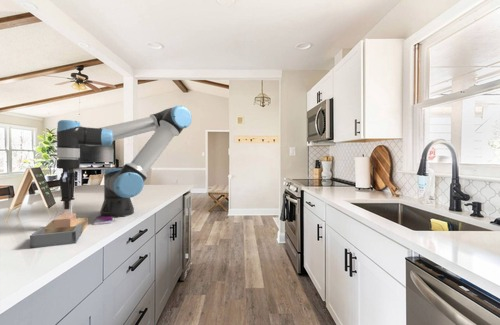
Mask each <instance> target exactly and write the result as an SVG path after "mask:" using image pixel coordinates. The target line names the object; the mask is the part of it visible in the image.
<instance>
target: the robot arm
mask: <svg viewBox="0 0 500 325" xmlns="http://www.w3.org/2000/svg"><path fill="white" fill-rule="evenodd" d="M191 124H192V114H191V112H190V110H189V109H188V108H187V107H186V106H183V105H174V106H172V107H168V108H166V109H163V110H160V111H159V112H156V113H153V114H149V116H148V117H144V118H138V119H134V120H129V121H126V122H125V121H124V122H120V123H116V124H112V125H108V126H103V127H86V126H82V125H81V123H80V121H77V120H71V119H70V120H68V119H60V120H59V121H57V128H56V129H57V130H56V149H55V151H54V152H55V153H56V158H58V159H56V168H57V169H60V170H61V169H62V172H61V173H60V177H59V181H60V190H61V192H60V193H61V199H60V202H63V204H62V214H69V213H73V201H75V199H76V198H75V196H74V194H75V181H76V173H75V171H74V170H76V169H79V168H80V161H81V160H80V158H81V148H80V147H81V146H86V147H97V146H98V147H110V146H112V145H113V142H114V141H119V140H121V139H125V138H129V137H133V136H138V135H141V134H146V133H149V132H154V133H153V134H152V135H151V137H150V138H149V139H148V140H147V142H145V144H144V145H143V146H142V148H141V149H140V150H139V151H138V153H137V154H136V156H135V157H134V158H133V159H132V160H131V161H130V162H129V163H125V164H124V165H123V167H117V168H116V167H115V168H107V169H105V170H104V174H103V182H104V185H103V186H104V188H103V190H104V192H103V196H104V198H103V201H102V205H101V208H100V211H99V215H100V216H104V217H113V218H120V217H126V216H129V215H133V214H134V213H135V207H134V205H133V202H132V199H131V198H134V197H136V196H137V195H139V194H140V193H141V192H142V191H143V188H144V183H145V182H146V180H147V178H148V174H147V173H148V171H149V170H151V167H153V165H154V164H155V163H156V161H157V160H158V158H159V157H160V156H161V154H162V153H163V152H164V150H165V149H166V148H167V147H168V145H169V144H170V142H171V141H172V140H173V138H174V137H178V136H180V134H181V133H182V131H183V130H184V129H186V128H188V127H189V126H190V125H191Z"/></svg>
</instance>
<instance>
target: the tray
mask: <svg viewBox="0 0 500 325" xmlns="http://www.w3.org/2000/svg"><path fill="white" fill-rule="evenodd" d="M82 234H83V233H82V223H80V224H78V225H77V226H76V227H75V229H74V230H73V231H68V232H58V233H47V234H45V226H41V227H39V228H38V229H37V230H36V231H35V232H33V233H31V235H29V249H36V248H37V249H39V248H47V247H55V246H64V245H72V244H73V245H74V244H77V242H78V240H79V239H80V237H81V236H82Z"/></svg>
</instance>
